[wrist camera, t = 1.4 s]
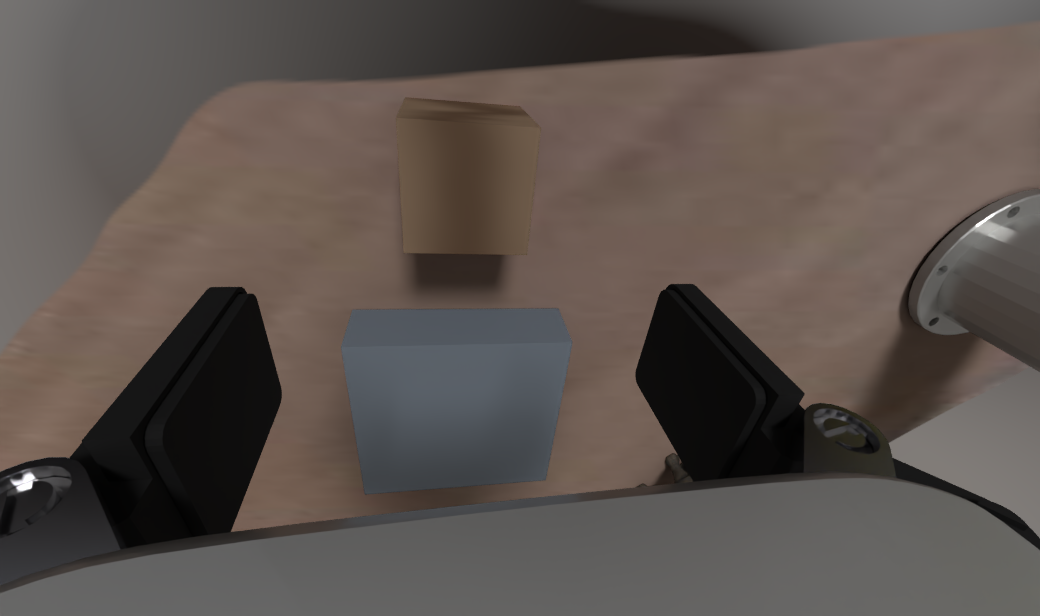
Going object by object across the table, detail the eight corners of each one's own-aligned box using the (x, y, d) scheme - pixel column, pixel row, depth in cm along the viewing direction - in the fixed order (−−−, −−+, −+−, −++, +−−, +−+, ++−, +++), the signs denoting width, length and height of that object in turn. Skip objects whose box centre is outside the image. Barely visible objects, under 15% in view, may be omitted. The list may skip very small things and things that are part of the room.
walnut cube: (519, 106, 23) (541, 127, 19) (510, 212, 27) (526, 254, 22) (405, 97, 22) (395, 117, 17) (410, 208, 26) (403, 253, 21)
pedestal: (558, 308, 31) (572, 342, 28) (536, 441, 38) (545, 480, 35) (352, 309, 29) (341, 347, 25) (371, 451, 36) (364, 494, 33)
